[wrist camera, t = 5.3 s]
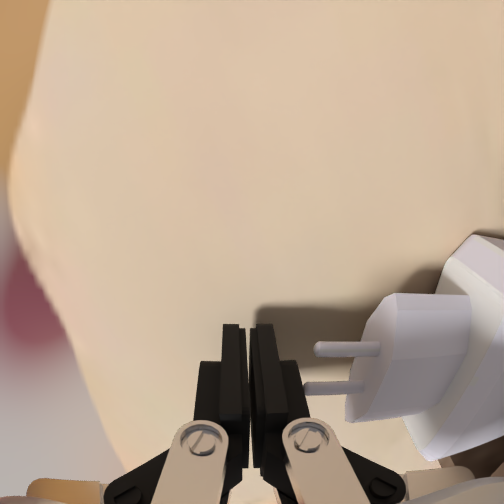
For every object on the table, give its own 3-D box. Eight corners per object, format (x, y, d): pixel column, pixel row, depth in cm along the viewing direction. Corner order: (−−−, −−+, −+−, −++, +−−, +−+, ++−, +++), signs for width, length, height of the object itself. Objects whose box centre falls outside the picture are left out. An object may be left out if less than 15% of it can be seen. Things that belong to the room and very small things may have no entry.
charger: (319, 205, 10) (558, 248, 11) (278, 407, 13) (500, 380, 15) (377, 264, 6) (614, 283, 7) (290, 495, 9) (536, 427, 10)
